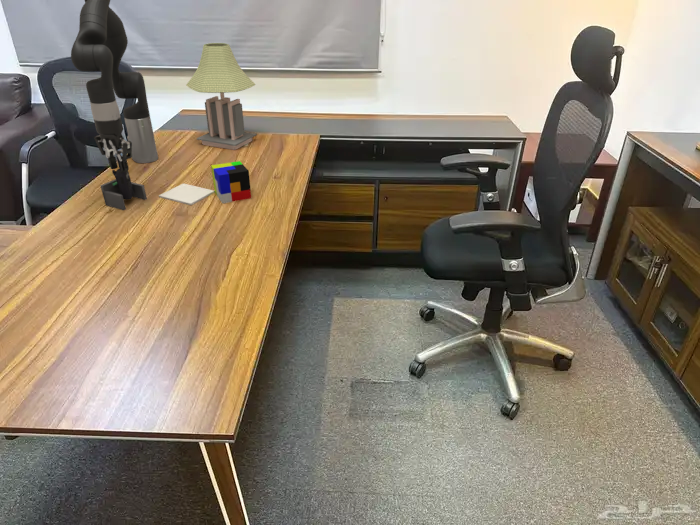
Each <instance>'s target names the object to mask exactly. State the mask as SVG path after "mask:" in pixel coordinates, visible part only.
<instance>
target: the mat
mask: <svg viewBox="0 0 700 525" xmlns="http://www.w3.org/2000/svg"><path fill="white" fill-rule="evenodd" d="M213 194H215V191H214V190H213V189H209V188H205V187H200V186H196V185H193V184H187V183H180V184H179V185H177V186H175V187H173V188H171V189H169V190H167V191H164V192H163V193H161V194H159V195H158V197H159V198H162V199H165V200H169V201H173V202H177V203H181V204H184V205H188V206H193V205H194V204H196V203H198V202H200V201H202V200H204V199H206V198H207V197H209V196H211V195H213Z"/></svg>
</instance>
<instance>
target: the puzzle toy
mask: <svg viewBox="0 0 700 525" xmlns="http://www.w3.org/2000/svg"><path fill="white" fill-rule="evenodd" d="M210 168H211V174H212V182H213V188H214V190H213V191H215V193H214V194H215V195H216V197H217V198H218V199H219V201H220V203H221V204H226V203H227V204H228V203H233V202H239V201H245V200H249V199H252V193H251V192H252V191H251V183H250V182H251V181H250V179H251V178H250V170H249V169H248V168H247V167H246V166H245V165H244V163H242V162H241V160H238V161H232V162H224V163H218V164H211V165H210Z"/></svg>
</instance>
